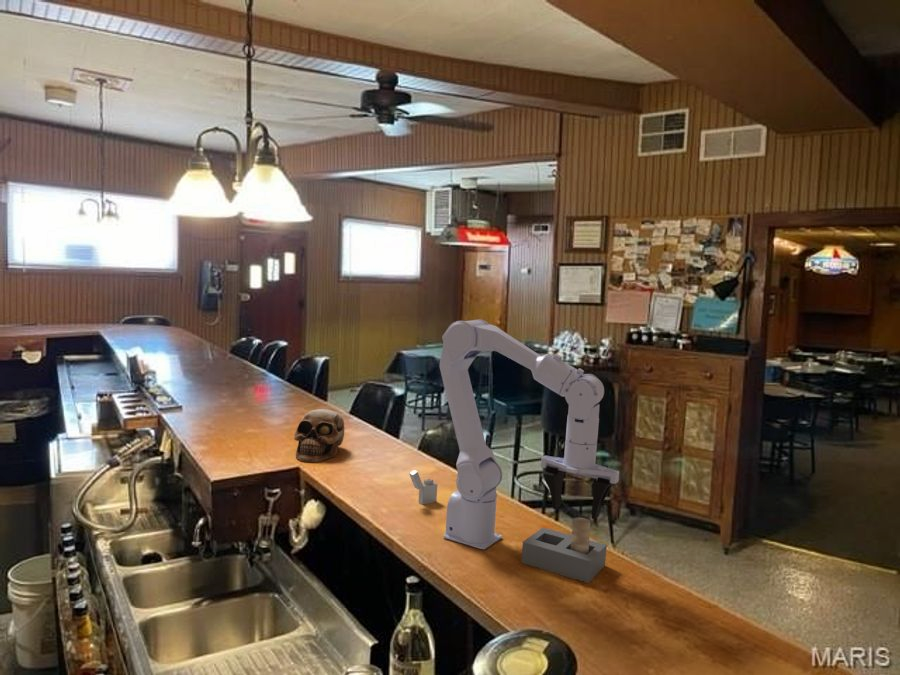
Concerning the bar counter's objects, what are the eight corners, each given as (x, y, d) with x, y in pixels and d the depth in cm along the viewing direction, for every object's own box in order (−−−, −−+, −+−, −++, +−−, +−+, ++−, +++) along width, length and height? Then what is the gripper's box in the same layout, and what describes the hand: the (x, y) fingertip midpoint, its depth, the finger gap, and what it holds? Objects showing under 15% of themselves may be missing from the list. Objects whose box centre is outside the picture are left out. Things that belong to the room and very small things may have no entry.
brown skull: (301, 463, 174) (303, 413, 174) (284, 453, 189) (286, 407, 189) (356, 460, 182) (358, 412, 182) (336, 450, 197) (337, 406, 197)
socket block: (521, 562, 120) (522, 541, 120) (541, 546, 128) (542, 527, 128) (588, 583, 114) (590, 561, 113) (605, 565, 121) (606, 544, 121)
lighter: (432, 499, 152) (434, 466, 151) (436, 501, 151) (438, 468, 150) (407, 504, 148) (408, 470, 147) (411, 506, 146) (413, 472, 145)
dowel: (567, 563, 119) (570, 521, 118) (574, 558, 121) (576, 516, 121) (583, 568, 117) (586, 525, 116) (590, 562, 120) (593, 520, 119)
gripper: (536, 437, 120) (530, 508, 121) (612, 452, 112) (606, 528, 113) (551, 431, 126) (546, 498, 127) (625, 445, 118) (618, 517, 119)
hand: (575, 512), depth 121 cm, fingers open, 7 cm apart
